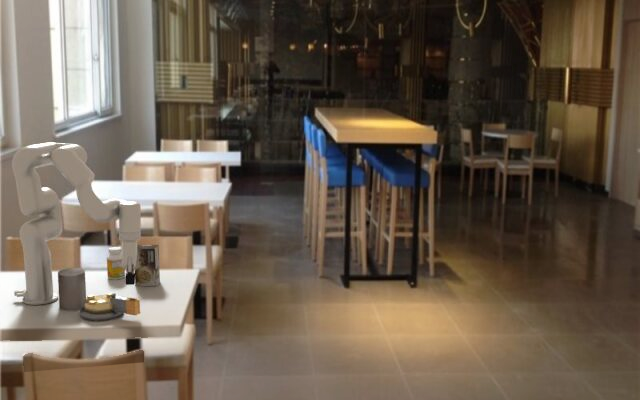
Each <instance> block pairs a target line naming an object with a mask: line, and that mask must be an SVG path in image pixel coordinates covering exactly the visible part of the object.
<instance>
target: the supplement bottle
mask: <svg viewBox="0 0 640 400" xmlns="http://www.w3.org/2000/svg"><path fill="white" fill-rule="evenodd" d="M108 253H109V254H108V255H107V256H106V269H107V270H106V271H107V278H108V279H109V280H113V281H114V280H121V279H124V278H126V267H124V268H122V246H112V247H109V248H108Z"/></svg>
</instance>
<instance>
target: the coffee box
mask: <svg viewBox="0 0 640 400" xmlns="http://www.w3.org/2000/svg"><path fill="white" fill-rule="evenodd" d="M159 253H160V251H159V244H137V261H136V267H135V268H134V273H135V284H134V286H135V287H157V286H158V285H159V284H160V282H161V280H160V279H161V274H160V254H159Z"/></svg>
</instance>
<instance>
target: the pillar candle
mask: <svg viewBox="0 0 640 400" xmlns="http://www.w3.org/2000/svg"><path fill="white" fill-rule="evenodd" d="M57 282H58V284H57V285H58V304H59V309H60V310H62V311H70V312H71V311H78V310H79V311H80V310H81V309H82V308H83V307H84V301H85V300H86V299H87V285H86V270H85V269H84V268H82V267H81V268H80V267H68V268H63V269H60V270H59V271H58V272H57Z"/></svg>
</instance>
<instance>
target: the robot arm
mask: <svg viewBox="0 0 640 400" xmlns="http://www.w3.org/2000/svg"><path fill="white" fill-rule="evenodd" d="M87 160H88V153H87V152H86V150H85V148H84V147H83V146H81V145H80V144H75V143H61V142H44V143H43V142H42V143H36V144H29V145H27V146H24V147H22V148H20V149H18V150H17V151H16V152H15V153H14V154H13V157H12V161H11V167H12V171H13V175H14V179H15V183H16V191H17V193H16V194H17V198H18V203H19V209H20V212H21V214H22V215H24V216H26V217H34V216H39V217H36V218H33V219H31V220H28V221H26V222H25V223H23V224H22V225H21V226H20V229H19V239H20V242H21V246H22V252H23V261H24V263H23V264H24V273H25V289H22V290H14V292H13V293H14V296H15V297H17V298H18V297H20V298H22V303H23V304H25V305H28V306H29V305H31V306H37V305H39V306H40V305H41V306H42V305H46V304H51V303H54V302H56V301H57V300H59V294H57V293H56V292H54V286H53V285H54V284H53V283H54V282H53V269H52V268H53V267H52V254H51V250H50V248H49V246H48V244H47V242H48V241H52V240H54V239H56V238H58V237H60V236H61V234H62V232H63V218H62V217H63V216H62V209H61V204H60V199H59V196H58V194H57V192H56V191H54V190H53V189H52V188H50V187H45V186H44V187H42V182H41V181H42V180H41V177H40V175H39V173H38V172H37V170H36V169H38V168H43V167H47V166H52V165H53V166H54V167H55V168H56V169H57V170H58V171H59V173H61V174H62V176H63V177H64V178H65V179H66V180H67V181H68V183H70V184H71V186H72V187H74V189H75V192H76V198H77V200H78V203H79V205H80V207H81V208H82V209H83V210H84V212H85V213H86V214H87V215H88V216H89V217H90V218H91V219H92V220H93V221H95V222H97V223H99V224H107V223H109V222H111V221H114V220H119V221H118V231H119V232H118V233H119V234H118V235H119V238H118V239H119V241H120V242H121V248H122V252H121V254H122V268H124V267H125V285H126V286H131V285H132V286H133V285H134V286H135V267H136V261H137V245H138V242H139V241H141V238H142V236H141V234H142V233H141V231H142V230H141V228H142V227H141V225H142V224H141V223H142V221H141V218H142V217H141V216H142V215H141V214H142V213H141V211H142V210H141V209H142V208H141V204H140V203H139V202H138V201H135V200H134V201H133V200H124V199H120V198H116V197H115V198H113V197H112V198H110V199H107V200H101V199H100V198H99V197H98V195H96V193H95V192H94V190H93V187H92V183H93V181H94V180H95V177H96V176H95V173H94V171H92V170H91V169H90V167H89V166H87V164H86V162H87Z"/></svg>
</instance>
